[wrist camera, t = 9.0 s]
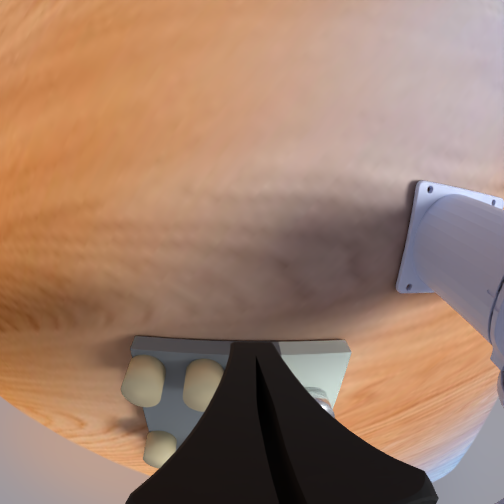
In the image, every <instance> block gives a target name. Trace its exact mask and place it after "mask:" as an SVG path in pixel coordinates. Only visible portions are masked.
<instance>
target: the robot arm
mask: <svg viewBox="0 0 504 504" xmlns="http://www.w3.org/2000/svg"><path fill="white" fill-rule="evenodd" d="M429 186H430V190H429V192H428V191H427V188H428V187H429ZM503 205H504V202H503V199H502V198H499V197H496V196H492V195H488V194H484V193H480V192H476V191H471V190H467V189H463V188H458V187H454V186H449V185H444V184H439V183H434V182H429V181H424V180H420V181H419V182H418V183H417V185H416V189H415V196H414V202H413V208H412V214H411V219H410V225H409V230H408V235H407V240H406V244H405V249H404V253H403V258H402V262H401V266H400V270H399V274H398V278H397V282H396V290H397V291H398V292H399V293H433V292H435V293H436V294H438V295H439V296H440V297H441V298H442V299H443V300H444V301H446V302H447V303H448V304H449V305H450V306H451V307H452V308H453V309H454V310H456V311H457V312H458V313H459V314H460V315H461V316H462V317H463V318H464V319H465V320H466V321H467V322H469V323H470V324H471V325H472V326H473V327H474V328H475V329H476V330H477V331H478V332H479V333H480V334H481V335H482V336H483V337H484V338H485V339H486V340H487V341H488V342H489V343H490V344H491V345H492V346H493V351H492V355H491V358H490V359H491V360H492V362H493V363H494V364H495V365H496V366H497V367H498V368H499V369H500V370H501V371H500V373H499V376H498V381H497V391H498V396H499V399H500V401H501V404H502V405H503V407H504V210H503ZM408 284H410V285H409V287H408V288H406V287H407V285H408ZM437 501H438V496H437V494H436V492H435V490H434V487H433V485H432V483H431V481H430V479H429V478H428V476H427V475H426V473H425V471H423V470H421V469H418V468H416V467H413V466H411V465H409V464H406V463H404V462H402V461H399V460H397V459H395V458H393V457H391V456H389V455H387V454H385V453H384V452H382V451H380V450H378V449H376V448H375V447H373V446H371V445H370V444H368V443H367V442H365V441H364V440H362V439H361V438H360V437H358V436H357V435H355V434H354V433H352V432H351V431H349V430H348V429H347V428H346V427H344V426H343V425H342V424H341V423H339V422H338V421H337V420H336V419H335V418H334V417H333V416H331V415H330V414H329V413H328V412H327V411H326V410H325V409H324V408H323V407H322V406H321V405H320V404H319V403H318V402H317V401H316V400H315V399H314V398H313V397H312V396H311V394H310V393H309V392H308V391H307V390H306V389H305V388H304V386H303V385H302V384H301V383H300V381H299V380H298V379H297V378H296V376H295V375H294V374H293V373H292V371H291V370H290V369H289V367H288V366H287V364H286V363H285V361H284V360H283V359H282V357H281V356H280V354H279V352H278V351H277V349H276V348H275V346H274V344H273V343H272V342H233V343H231V344H230V354H229V358H228V362H227V365H226V368H225V370H224V373H223V375H222V378H221V380H220V383H219V385H218V387H217V389H216V391H215V393H214V395H213V397H212V399H211V401H210V403H209V405H208V406H207V408H206V410H205V412H204V413H203V415H202V416H201V418H200V420H199V421H198V423H197V424H196V426H195V427H194V428H193V430H192V431H191V432H190V434H189V435H188V436H187V438H186V439H185V440H184V442H183V443H182V444H181V445H180V447H179V448H178V449H177V450H176V451H175V452H174V453H173V455H172V456H171V457H170V458H169V459H168V460H167V461H166V462H165V463H164V464H163V465H162V466H161V467H160V468H159V469H158V470H157V471H156V472H155V473H154V474H153V475H152V476H151V477H150V478H149V479H147V480H146V481H145V482H144V483H143V484H142V485H141V486H139V487H138V488H137V489H136V490H135V491H133V492H132V493H131V494H130V496H129V498H128V500H127V501H126V503H125V504H436V503H437ZM495 504H504V498H503V499H501V500H500V501H498V502H497V503H495Z"/></svg>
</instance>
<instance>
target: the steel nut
mask: <svg viewBox="0 0 504 504" xmlns="http://www.w3.org/2000/svg"><path fill="white" fill-rule="evenodd" d="M304 388H305V389H306V390H307V391H308V392H309V393H310V394H311V396H312V397H313V398H314V399H315V400H316V401H317V402H318V403H319V404H320V405H321V406H322V407H323V408H324V409H325V410H326V411H327V412H328V413H329V414H330V415H331V416H333V417H334V418H335V416H334V412H333V409H332V407H331V404H330V401H329V398H328V395H327V393H326V392H325V391H324V390H322V389H320V388H317V387H304Z"/></svg>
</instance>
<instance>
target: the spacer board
mask: <svg viewBox="0 0 504 504" xmlns="http://www.w3.org/2000/svg"><path fill="white" fill-rule="evenodd" d="M233 342H244V341H208V340H187V339H171V338H156V337H144V336H135V338H134V341H133V343H132V346H131V348H130V350H131V355H132V359H131V361H130V364H129V366H128V369H127V372H126V375H125V378H124V380H123V383H122V386H121V392H122V394H123V396H124V397H125V398H126V399H127V400H128V401H129V402H131V403H132V404H134V405H137V406H140V407H143V410H144V414H145V418H146V422H147V426H148V429H149V433H148V435H147V440H146V445H145V450H144V456H143V460H144V461H145V462H146V463H147V464H148V465H150V466H153V467H156V468H160V467H161V466H162V465H163V464H164V463H165V462H166V461H167V460H168V459H169V458H170V457H171V456H172V455H173V453H174V452H175V451H176V450H177V449H178V448H179V447H180V445H181V444H182V443H183V442H184V440H185V439H186V438H187V436H188V435H189V434H190V432H191V431H192V430H193V428H194V427H195V426H196V424H197V423H198V421H199V420H200V418H201V416H202V415H203V413H204V412H205V410H206V408H207V406H208V405H209V403H210V401H211V399H212V397H213V395H214V393H215V391H216V389H217V387H218V385H219V383H220V380H221V378H222V375H223V373H224V370H225V368H226V365H227V362H228V358H229V354H230V344H231V343H233ZM272 343H273V344H274V346H275V348H276V349H277V351H278V352H279V354H280V356H281V357H282V359H283V360H284V361H285V363H286V364H287V366H288V367H289V369H290V370H291V371H292V373H293V374H294V375H295V376H296V378H297V379H298V380H299V381H300V383H301V384H302V385H303V386H304V387H317V388H320V389H322V390H324V391H325V392H326V393H327V395H328V398H329V401H330V404H331V407H332V409H333V407H334V404H335V401H336V398H337V395H338V393H339V390H340V387H341V384H342V381H343V378H344V375H345V372H346V368H347V365H348V362H349V359H350V356H351V350H350V348H349V346H348V344H347V342H346V341H345V340H328V341H292V342H272Z"/></svg>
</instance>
